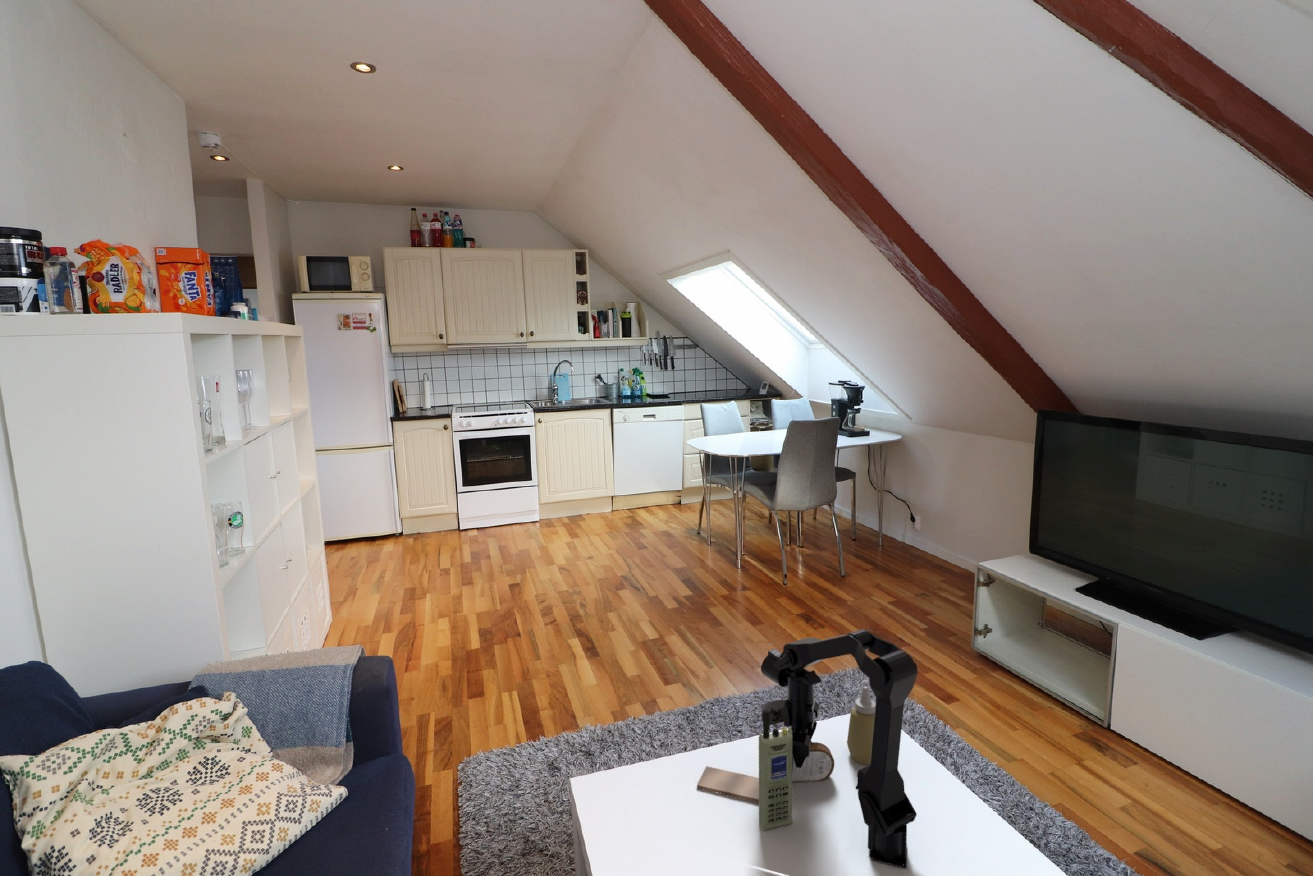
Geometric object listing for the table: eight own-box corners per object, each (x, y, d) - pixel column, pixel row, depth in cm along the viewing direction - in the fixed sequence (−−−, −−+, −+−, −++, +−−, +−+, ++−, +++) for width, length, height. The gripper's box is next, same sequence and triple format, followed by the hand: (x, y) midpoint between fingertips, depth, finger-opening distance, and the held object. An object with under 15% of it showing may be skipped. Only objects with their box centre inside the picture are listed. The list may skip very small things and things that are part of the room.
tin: (830, 775, 144) (832, 740, 143) (835, 784, 141) (836, 747, 140) (765, 776, 143) (766, 740, 142) (768, 785, 140) (770, 748, 139)
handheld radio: (763, 833, 126) (763, 716, 124) (757, 822, 130) (756, 707, 127) (794, 826, 128) (794, 710, 125) (786, 815, 131) (786, 702, 129)
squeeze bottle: (887, 771, 145) (889, 696, 143) (852, 771, 145) (853, 697, 143) (875, 749, 153) (877, 679, 151) (842, 750, 153) (843, 679, 151)
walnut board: (775, 786, 140) (775, 781, 140) (768, 807, 134) (768, 801, 134) (706, 771, 146) (706, 766, 146) (697, 790, 140) (696, 785, 140)
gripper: (772, 670, 151) (772, 732, 153) (755, 710, 134) (755, 779, 136) (820, 678, 147) (819, 741, 149) (808, 720, 130) (808, 790, 132)
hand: (800, 761), depth 141 cm, fingers open, 4 cm apart
